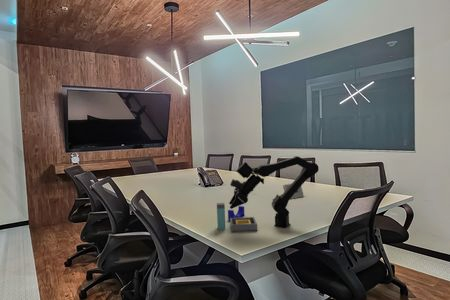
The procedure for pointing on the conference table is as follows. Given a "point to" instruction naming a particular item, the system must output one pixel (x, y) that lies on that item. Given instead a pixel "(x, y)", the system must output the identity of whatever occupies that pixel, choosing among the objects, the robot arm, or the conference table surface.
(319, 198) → the conference table surface
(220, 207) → the plug
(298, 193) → the digital clock
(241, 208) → the cable clip
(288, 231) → the conference table surface
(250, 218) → the socket box
